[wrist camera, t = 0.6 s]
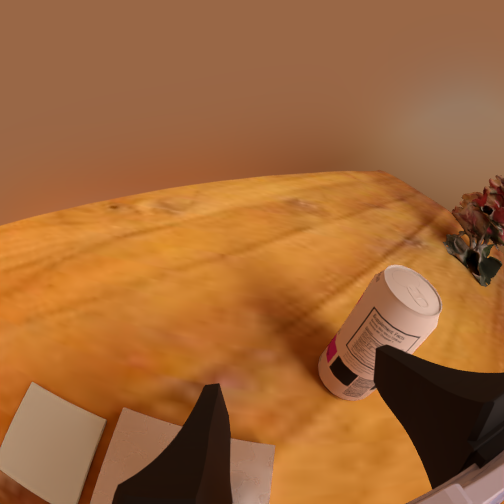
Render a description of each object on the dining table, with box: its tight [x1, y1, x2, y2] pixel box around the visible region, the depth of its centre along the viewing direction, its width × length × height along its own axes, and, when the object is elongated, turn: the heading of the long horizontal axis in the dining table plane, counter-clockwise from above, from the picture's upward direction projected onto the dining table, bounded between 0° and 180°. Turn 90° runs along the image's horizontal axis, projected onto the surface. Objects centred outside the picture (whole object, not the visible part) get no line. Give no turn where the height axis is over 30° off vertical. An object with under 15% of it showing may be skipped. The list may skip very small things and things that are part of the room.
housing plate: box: [90, 407, 275, 504], centre depth 16 cm, size 14×14×2 cm
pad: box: [0, 382, 107, 504], centre depth 16 cm, size 11×9×1 cm
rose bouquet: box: [443, 175, 504, 287], centre depth 68 cm, size 26×29×30 cm
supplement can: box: [318, 265, 442, 401], centre depth 28 cm, size 8×8×15 cm
